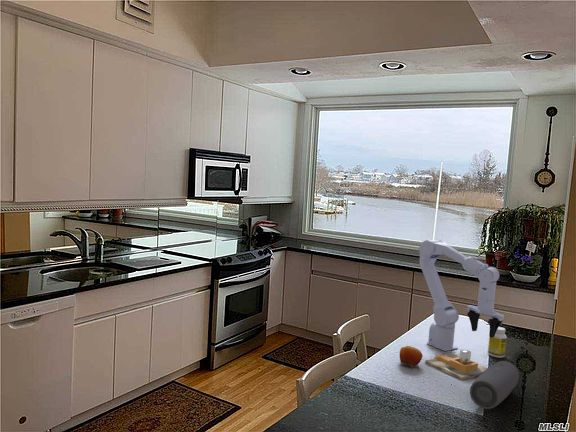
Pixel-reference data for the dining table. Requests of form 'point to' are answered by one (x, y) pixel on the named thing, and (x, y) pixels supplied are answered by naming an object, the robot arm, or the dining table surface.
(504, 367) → the bluetooth speaker
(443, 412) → the dining table surface
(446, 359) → the bracket
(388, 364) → the dining table surface
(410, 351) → the fruit
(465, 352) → the pin
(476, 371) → the rosette board
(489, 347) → the pill bottle
